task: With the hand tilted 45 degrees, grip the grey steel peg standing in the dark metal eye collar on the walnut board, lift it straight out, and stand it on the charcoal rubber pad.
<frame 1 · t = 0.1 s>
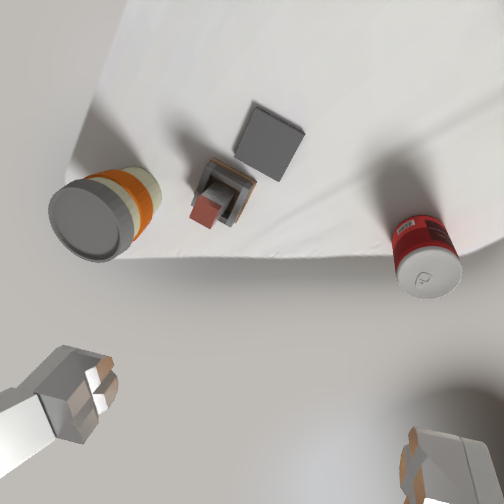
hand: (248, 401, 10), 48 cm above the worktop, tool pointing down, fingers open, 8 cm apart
eye board: (225, 190, 60), on the worktop
steel peg: (224, 192, 59), point 1 cm above the worktop, touching eye board
rubber pad: (269, 145, 55), on the worktop
canned food: (418, 236, 56), on the worktop
reusable coffee cup: (139, 190, 65), on the worktop
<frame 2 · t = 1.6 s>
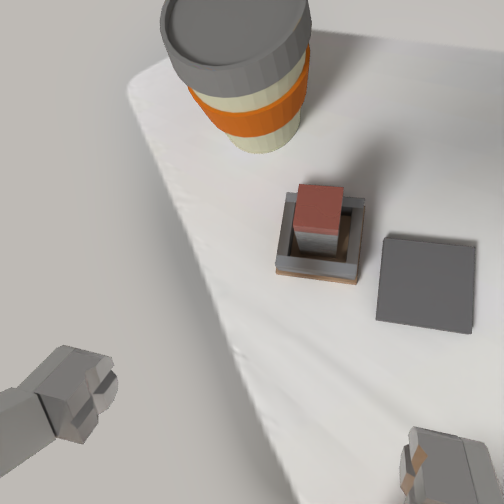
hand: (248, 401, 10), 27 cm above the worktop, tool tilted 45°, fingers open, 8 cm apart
eye board: (320, 241, 38), on the worktop
steel peg: (320, 239, 37), point 1 cm above the worktop, touching eye board
rubber pad: (423, 285, 35), on the worktop
reusable coffee cup: (262, 120, 43), on the worktop
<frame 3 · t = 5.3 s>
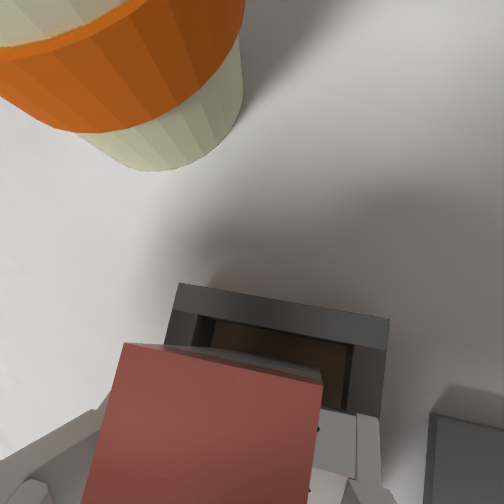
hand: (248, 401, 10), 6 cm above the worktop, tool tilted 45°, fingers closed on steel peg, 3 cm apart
eye board: (270, 399, 15), on the worktop
steel peg: (267, 403, 14), point 1 cm above the worktop, touching eye board, gripper
reusable coffee cup: (167, 102, 20), on the worktop
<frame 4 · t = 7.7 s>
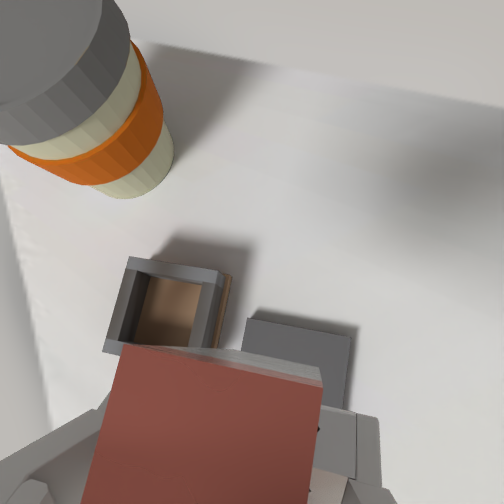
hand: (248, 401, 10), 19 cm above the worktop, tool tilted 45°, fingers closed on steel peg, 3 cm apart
eye board: (177, 315, 31), on the worktop
steel peg: (267, 403, 14), point 14 cm above the worktop, touching gripper
rubber pad: (289, 380, 28), on the worktop
reusable coffee cup: (131, 158, 36), on the worktop
when the fingers open (7 cm above the worktop, at t = 10.2 s): steel peg drops 1 cm, resting on rubber pad.
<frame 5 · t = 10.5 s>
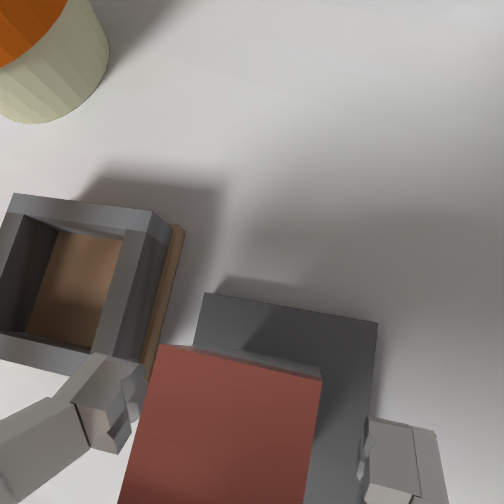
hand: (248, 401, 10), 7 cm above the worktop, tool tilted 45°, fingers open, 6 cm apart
eye board: (99, 291, 19), on the worktop
steel peg: (271, 398, 16), point 1 cm above the worktop, touching rubber pad
rubber pad: (273, 396, 17), on the worktop
reusable coffee cup: (50, 69, 25), on the worktop
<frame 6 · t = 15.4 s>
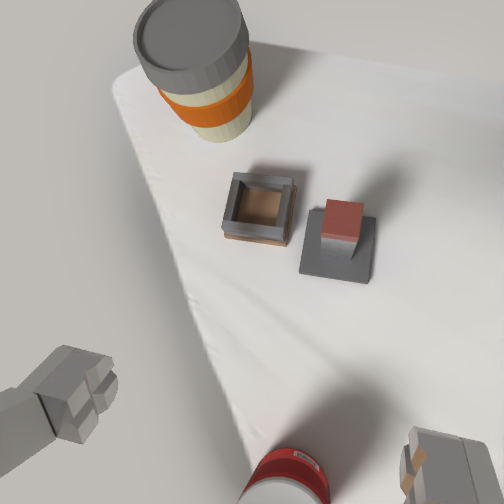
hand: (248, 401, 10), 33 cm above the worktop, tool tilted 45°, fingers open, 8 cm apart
eye board: (261, 213, 47), on the worktop
steel peg: (337, 244, 43), point 1 cm above the worktop, touching rubber pad
rubber pad: (337, 247, 44), on the worktop
canned food: (290, 485, 38), on the worktop
reusable coffee cup: (222, 116, 53), on the worktop
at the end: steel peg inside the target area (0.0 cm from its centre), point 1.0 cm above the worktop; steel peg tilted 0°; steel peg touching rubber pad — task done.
